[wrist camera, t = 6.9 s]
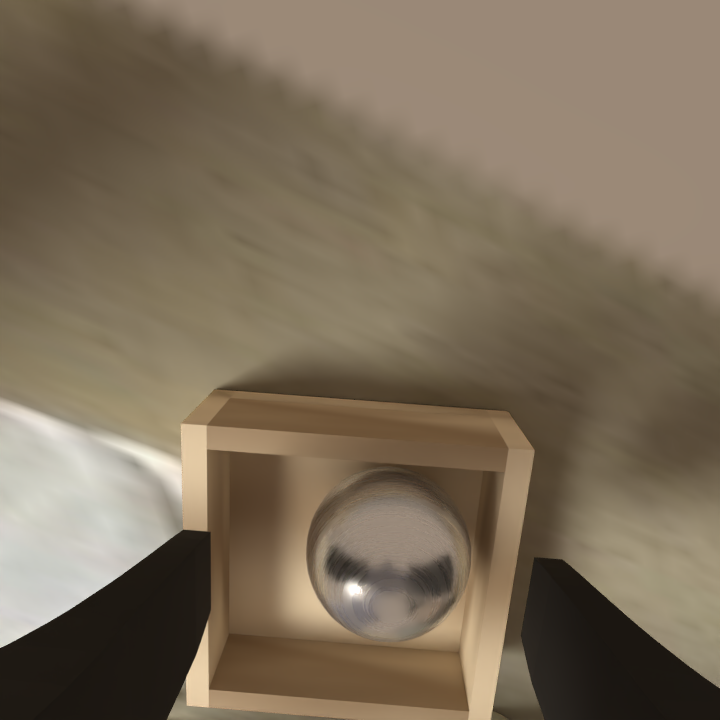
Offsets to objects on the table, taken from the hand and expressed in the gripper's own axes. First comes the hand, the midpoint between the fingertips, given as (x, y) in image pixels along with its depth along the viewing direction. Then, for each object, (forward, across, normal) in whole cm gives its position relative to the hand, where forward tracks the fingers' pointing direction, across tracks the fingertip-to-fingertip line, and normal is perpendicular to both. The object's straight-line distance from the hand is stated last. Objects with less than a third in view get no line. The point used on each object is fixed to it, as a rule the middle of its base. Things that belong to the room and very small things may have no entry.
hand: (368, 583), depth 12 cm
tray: (+4, 0, +1) cm, 4 cm away
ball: (+1, 0, 0) cm, 1 cm away
